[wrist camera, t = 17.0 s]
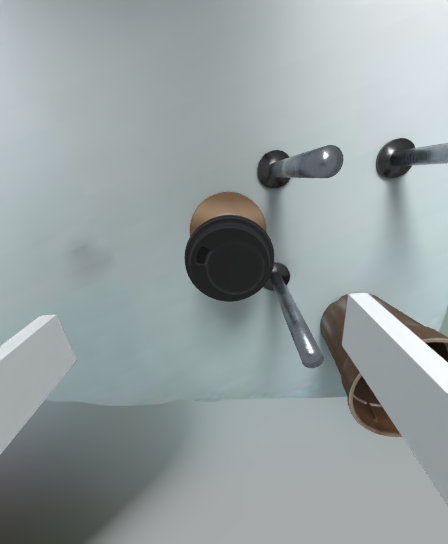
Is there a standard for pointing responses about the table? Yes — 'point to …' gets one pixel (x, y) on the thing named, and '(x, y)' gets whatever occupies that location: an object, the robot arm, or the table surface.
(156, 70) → the table surface
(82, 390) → the table surface
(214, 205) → the coaster
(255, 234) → the coffee cup
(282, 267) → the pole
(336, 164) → the pole corner
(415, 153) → the pole outer
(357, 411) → the plant pot
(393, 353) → the robot arm
